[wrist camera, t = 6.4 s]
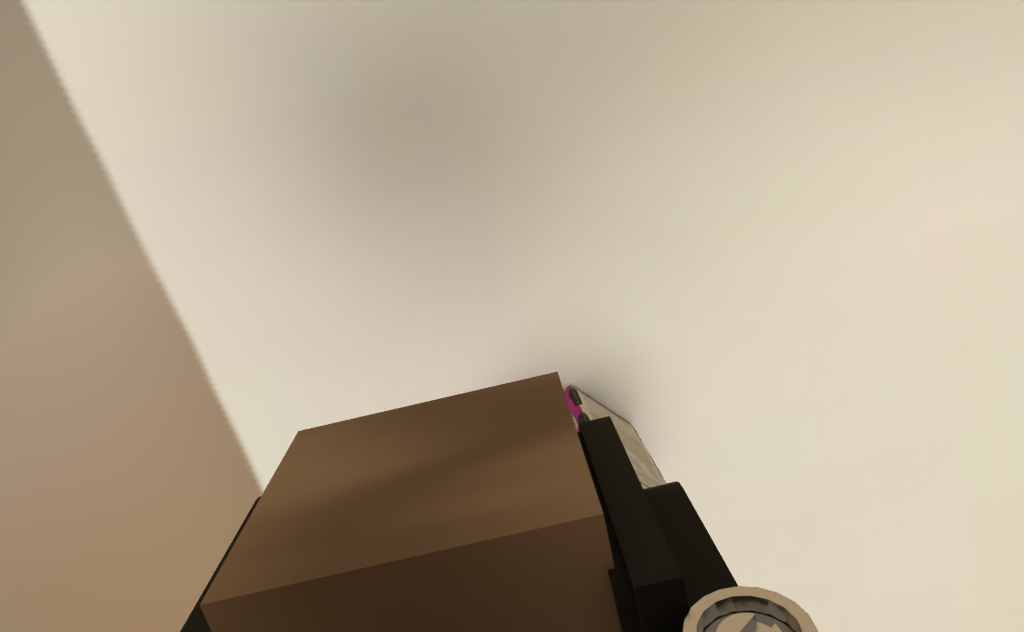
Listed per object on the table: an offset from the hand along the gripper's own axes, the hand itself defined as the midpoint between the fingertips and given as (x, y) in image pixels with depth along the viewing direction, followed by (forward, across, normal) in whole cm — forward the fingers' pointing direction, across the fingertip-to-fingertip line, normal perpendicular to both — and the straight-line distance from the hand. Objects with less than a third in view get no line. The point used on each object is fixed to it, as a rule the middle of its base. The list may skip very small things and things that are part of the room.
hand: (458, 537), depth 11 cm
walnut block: (+1, 0, 0) cm, 1 cm away
